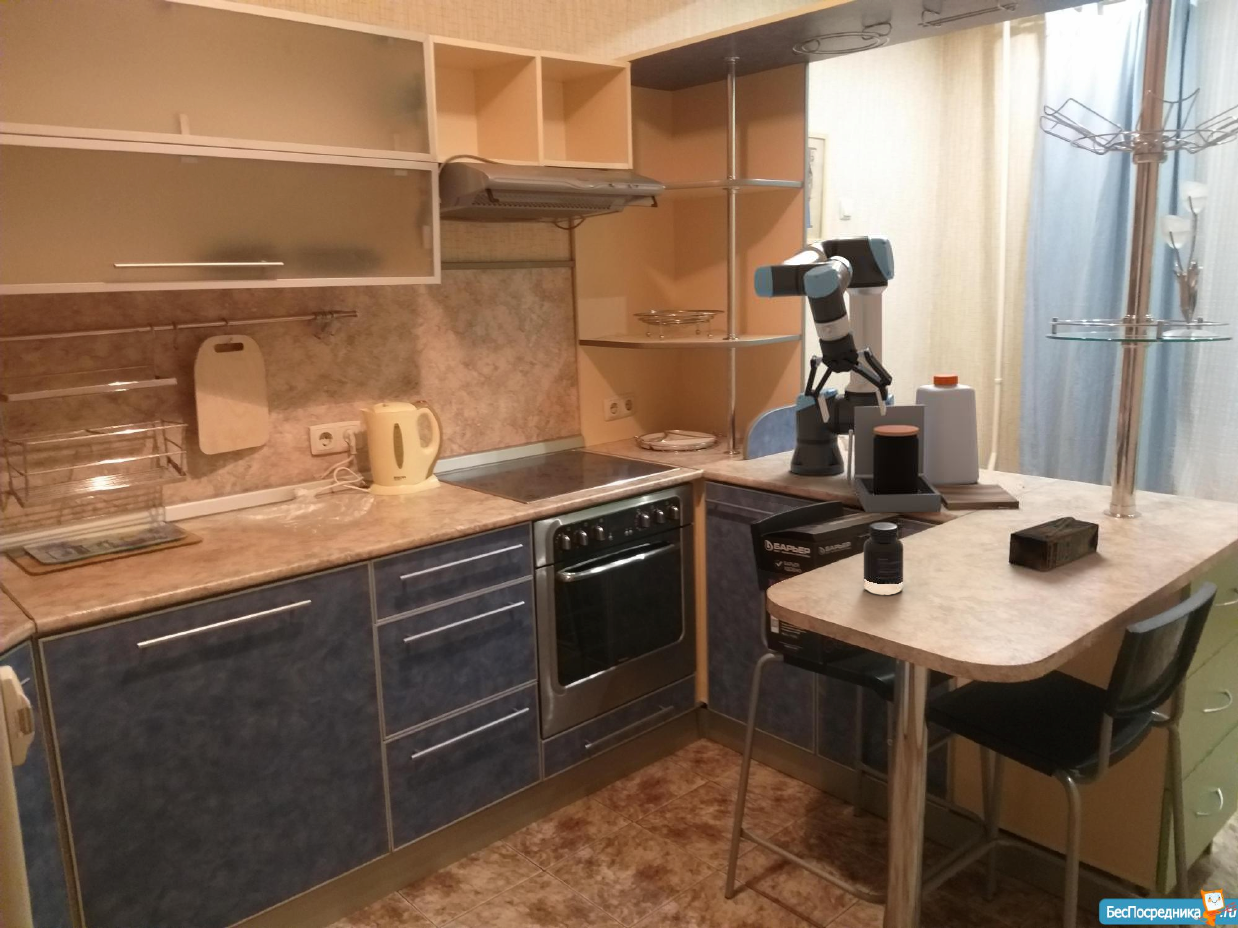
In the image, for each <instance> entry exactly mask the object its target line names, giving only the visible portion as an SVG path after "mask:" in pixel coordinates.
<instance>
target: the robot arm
mask: <svg viewBox="0 0 1238 928" xmlns="http://www.w3.org/2000/svg"><path fill="white" fill-rule="evenodd" d="M894 261H895V260H894V255H893V248H892V245H891V242H890V240H889V238H888V237H886V236H885V235H876V234H875V235H871V234H868V235H861V236H860V235H859V236H845V237H831V238H825V239H822V240H819V241H815V242H812V243H810V244H808V245H805V246H803V247H800V248H799V250H797V251H796V252H795V254H794V255H793V256H792V257H790V258H788V259H786V260H784V261H782V262H780V263H777V264H767V265H759V266H758V267H757V268H755V271H754V274H753V275H754V276H753V287H754V288H753V289H754V292H755V295H756V296H758V298H769V299H772V298H785V297H786V298H787V297H789V298H790V297H807V299H808V304H809V308H810V311H811V315H812V319H813V324H814V327H815V330H816V334H817V338H819V339H818V343H819V348H820V352H821V354H822V356H817V355H812V356H811V358H810V360H809V363H810V364H809V365H810V366H809V367H810V371H809V374H808V378H807V383H806V386H805V390H804V392H801V393H799V394H798V395H797V397H796V399H795V408H794V411H795V438H796V439H795V440H796V441H795V448H794V451H793V453H792V456H791V459H790V463H789V464H790V465H789V466H790V470H791V471H792V472H791V471H790V472H791V473H793V472H794V473H793V474H795V473H798V474H797V475H800V474H802V475H801V476H810V475H814V476H815V477H817V476H818V477H820V476H822V477H823V476H832V475H837V474H841V473H843V472H845V461H844V458H843V455H842V452H841V449H840V445H839V441H838V440H839V439H838V438H839V437H838V436H849V430H853V436H854V407H863V406H879V407H880V411H881V416H882V415H885V413H886V406H895V395H894V394H893V393H889V386H891V384H892V381H893V377H892V375H891V374H890V373H889V372H888V371H887V369H886V368H885V367H884V366H883V292H884V291H885V290H887V288H888V286H889V281H890V280H891V281H892V280H893V279H894V277H895V262H894ZM845 293H848V300H849V305H848V306H849V307H848V309H849V310H848V311H847V307H846V302H845V299H844V295H845ZM848 312H849V315H848ZM821 363H822V364H823V365H824V366H826V370H825V372H824V374H823V375H822V377H821V379H820V381H819V382H818V384H817V386H816V388H814V389H813V387H814V382H815V379H816V376H817V375H816V374H817V370H818V367H820V366H821ZM832 373H835V374H840V373H849V383H848V384H847V385H846V386H845V387H844V393H839V390H838V389H837V388H836V387H832V388H831V387H828V388H824V387H825V385H826V383H827V381H828V380H829V378H830V376H831V375H832Z"/></svg>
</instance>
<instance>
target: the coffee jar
mask: <svg viewBox="0 0 1238 928" xmlns="http://www.w3.org/2000/svg"><path fill="white" fill-rule="evenodd" d="M873 430H874V433H875V437H874V439H873V492H872V495H894V494H919V491H918V465H919V439H918V437H917V434H918V433H919V428H917V427H914V426H906V425H887V426H879V427H875V428H874V429H873Z"/></svg>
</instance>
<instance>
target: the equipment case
mask: <svg viewBox="0 0 1238 928" xmlns="http://www.w3.org/2000/svg"><path fill="white" fill-rule="evenodd" d="M887 425H906V426H914V427H917V428H919V433H918V434H917V437H918V439H919V465H918V490H919V491H918V492H919V493H918V494H894V495H873V494H870V492H868V491H873V439H874V437H875V433H874V430H873V429H874V428H875V427H879V426H887ZM853 438H854V441H853ZM853 442H854V443H853ZM853 444H854V445H853ZM847 445H848V446H847V447H848V449H847V468H846V469H847V470H846V486H847V487H850V486H851V484H852V482H851V481H852V462H854V463H853V465H854V467H853V470H854V472H853V473H854V474H853V475H854V476H853V479H854V485H853V487H854V490H855V491H854V493H855V492H856V493H855V495H856V494H857V495H856V497H857V496H858V497H857V498H859V499H858V500H859V502H860V505H861V506H862V508H863V510H864V511H865V513H911V512H912V513H914V512H915V513H916V512H917V513H918V512H920V513H921V512H925V513H926V512H941V511H942V510H941V509H942V502H941V494H940V493H939V492H938V491H937V490H936V489H935V487H934V486H933V485H932V484H931V483H930V482H929V481H928V480H927V479H926V478H925V477H924V474H923V470H924V405H915V404H904V405H903V404H899V405H898V404H897V405H896V404H894V406H886V413H885V415H882V416H881V411H880V407H879V406H863V407H854V435H853V430H849V435H848V443H847ZM853 446H854V447H853ZM853 448H854V451H853ZM853 453H854V454H853ZM853 455H854V456H853ZM853 457H854V461H852V460H853ZM921 493H922V494H921Z"/></svg>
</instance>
